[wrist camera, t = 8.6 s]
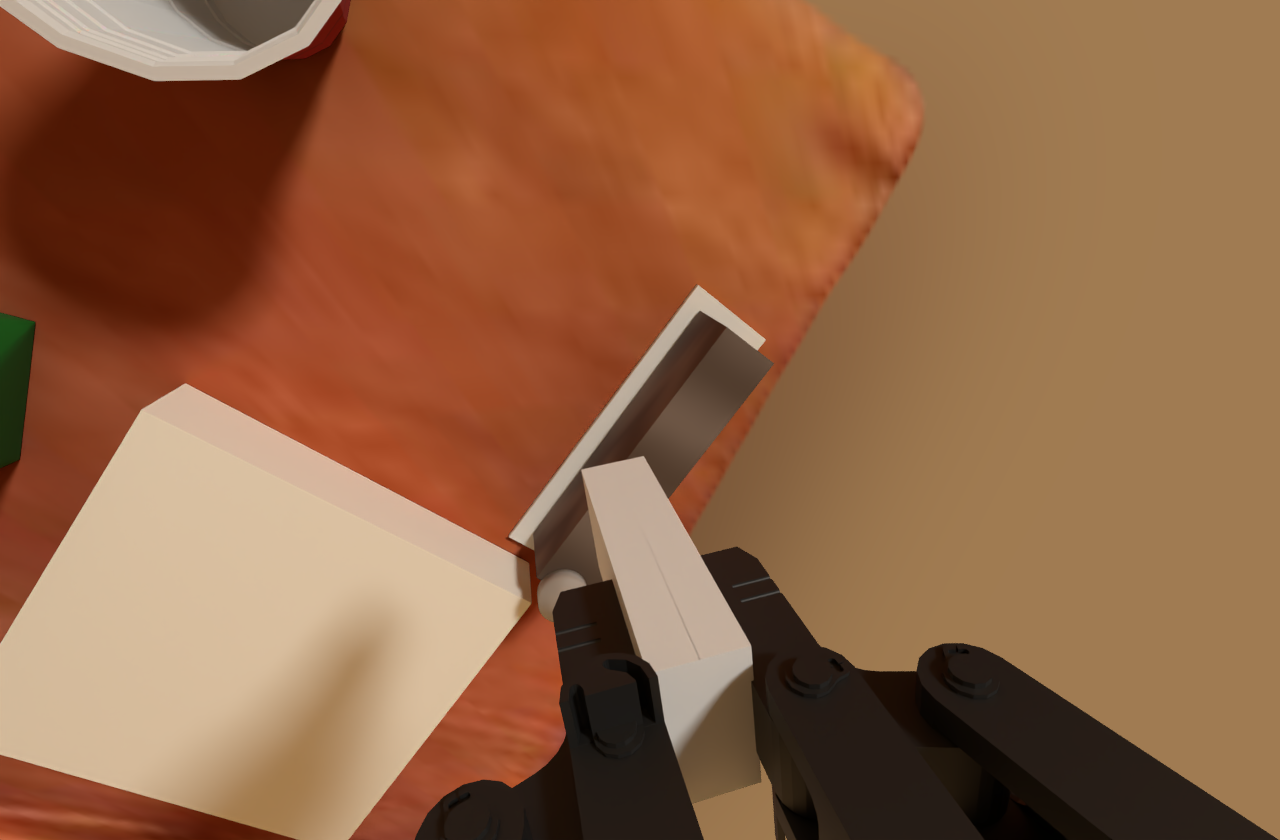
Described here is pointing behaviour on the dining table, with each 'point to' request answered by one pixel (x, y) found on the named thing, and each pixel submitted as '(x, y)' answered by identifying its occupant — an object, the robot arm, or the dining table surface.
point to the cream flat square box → (249, 627)
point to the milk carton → (13, 383)
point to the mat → (627, 403)
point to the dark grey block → (652, 442)
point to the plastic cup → (185, 33)
